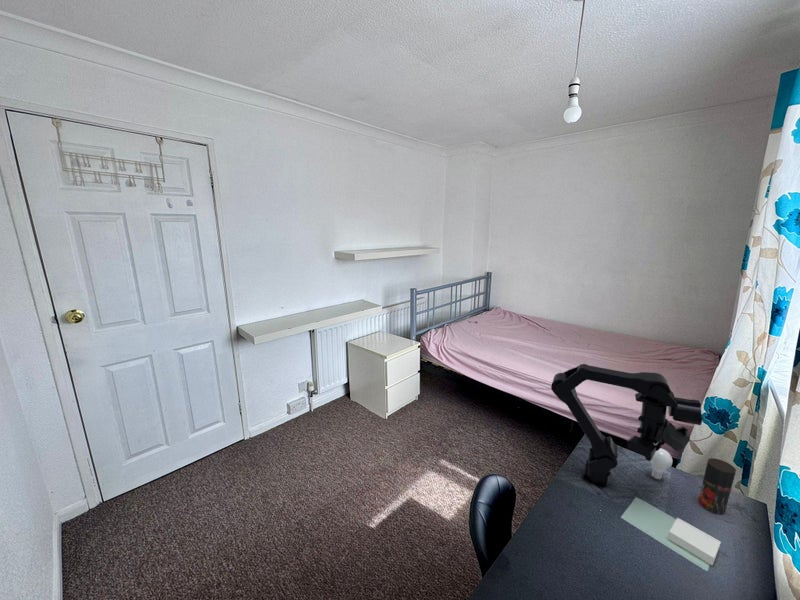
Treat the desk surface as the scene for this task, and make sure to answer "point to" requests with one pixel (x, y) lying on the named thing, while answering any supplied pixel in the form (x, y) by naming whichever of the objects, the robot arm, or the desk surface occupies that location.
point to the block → (694, 541)
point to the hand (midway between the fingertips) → (648, 459)
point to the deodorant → (716, 486)
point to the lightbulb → (660, 463)
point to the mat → (657, 527)
